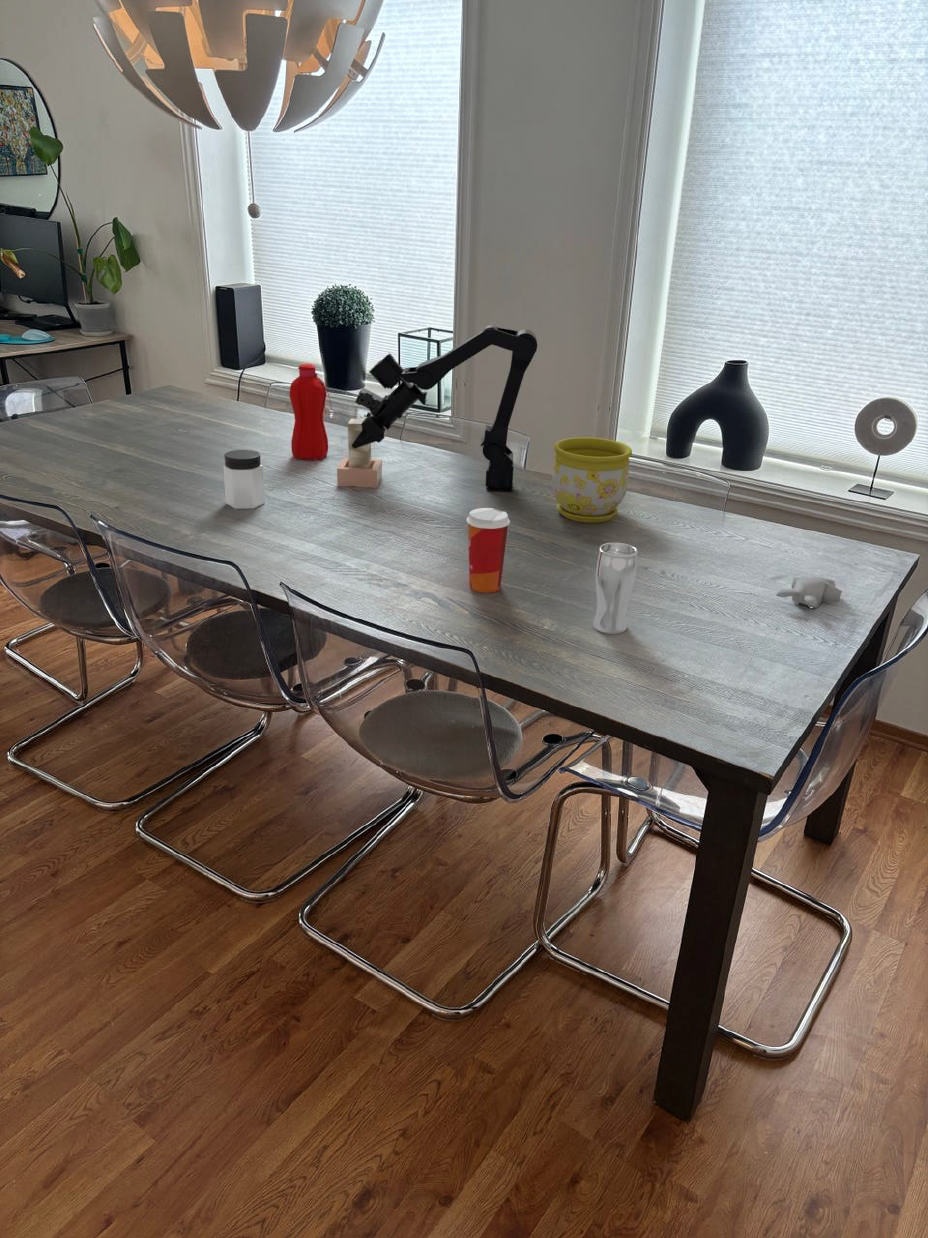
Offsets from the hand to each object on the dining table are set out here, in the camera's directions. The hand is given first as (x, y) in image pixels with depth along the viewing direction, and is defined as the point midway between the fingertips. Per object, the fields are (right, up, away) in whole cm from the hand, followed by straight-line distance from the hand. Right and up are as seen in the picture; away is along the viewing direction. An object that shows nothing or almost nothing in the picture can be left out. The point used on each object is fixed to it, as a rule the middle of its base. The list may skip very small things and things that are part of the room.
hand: (354, 444), depth 240 cm
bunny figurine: (+94, -41, -56) cm, 117 cm away
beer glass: (+54, -46, -69) cm, 99 cm away
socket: (+1, -9, +4) cm, 10 cm away
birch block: (+1, -6, +3) cm, 7 cm away
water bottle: (-14, +1, +23) cm, 27 cm away
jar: (-24, -17, -15) cm, 33 cm away
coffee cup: (+32, -38, -55) cm, 74 cm away
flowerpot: (+57, -19, -13) cm, 62 cm away
